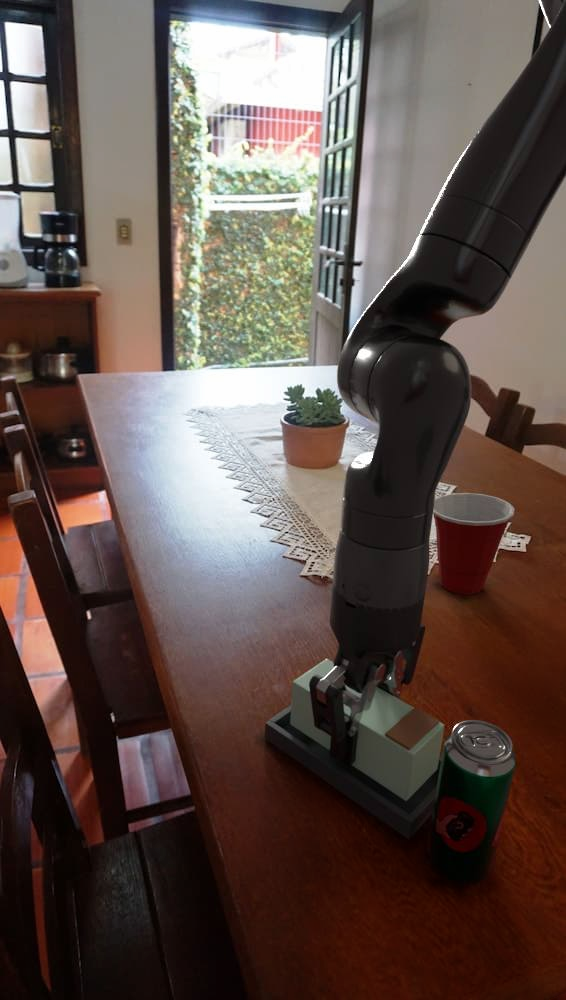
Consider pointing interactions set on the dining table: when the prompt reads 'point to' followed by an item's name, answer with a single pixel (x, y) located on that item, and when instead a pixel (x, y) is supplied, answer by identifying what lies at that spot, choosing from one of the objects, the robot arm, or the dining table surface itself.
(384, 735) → the pencil box
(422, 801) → the tray
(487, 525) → the plastic cup
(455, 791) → the soda can
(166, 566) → the dining table surface
